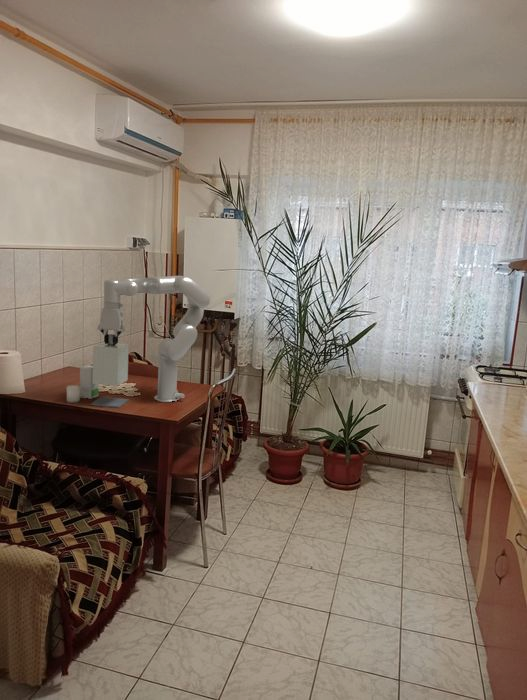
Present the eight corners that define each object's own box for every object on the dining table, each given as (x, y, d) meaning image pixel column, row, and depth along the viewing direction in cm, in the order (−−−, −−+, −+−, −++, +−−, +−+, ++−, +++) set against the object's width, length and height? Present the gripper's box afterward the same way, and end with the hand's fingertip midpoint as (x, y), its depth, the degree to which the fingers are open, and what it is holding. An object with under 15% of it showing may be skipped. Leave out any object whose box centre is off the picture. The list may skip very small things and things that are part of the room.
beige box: (127, 380, 267) (128, 333, 263) (117, 386, 254) (118, 337, 250) (104, 377, 268) (105, 331, 264) (92, 383, 255) (93, 335, 251)
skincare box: (90, 399, 267) (91, 368, 264) (78, 397, 268) (78, 367, 265) (99, 395, 275) (99, 365, 272) (87, 394, 276) (87, 364, 273)
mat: (128, 400, 269) (128, 399, 269) (118, 408, 255) (118, 406, 255) (101, 398, 270) (101, 396, 270) (90, 405, 256) (90, 404, 256)
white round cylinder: (81, 399, 265) (81, 385, 264) (76, 402, 260) (76, 388, 258) (69, 398, 266) (69, 384, 264) (64, 401, 260) (64, 387, 259)
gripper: (131, 306, 258) (130, 344, 261) (98, 303, 259) (97, 341, 262) (126, 307, 250) (125, 346, 253) (91, 305, 251) (91, 343, 254)
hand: (111, 343), depth 257 cm, fingers closed on beige box, 3 cm apart
